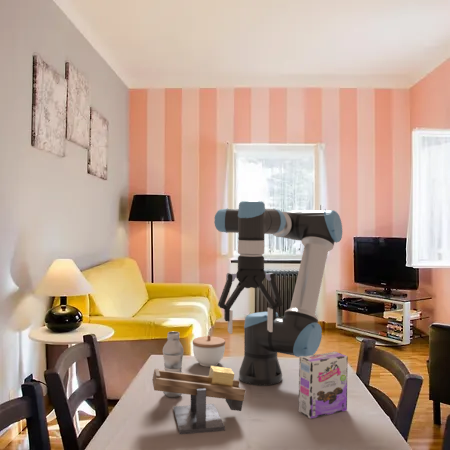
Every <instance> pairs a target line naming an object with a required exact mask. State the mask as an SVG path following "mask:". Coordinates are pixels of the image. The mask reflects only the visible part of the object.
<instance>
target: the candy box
mask: <svg viewBox="0 0 450 450" xmlns="http://www.w3.org/2000/svg"><path fill="white" fill-rule="evenodd" d="M348 358H349V357H348V355H347V354H343V353H340V352H338V351H331V352H325V353H319V354H317V353H316V354H314V355H310V356H301V357H299V373H298V376H299V377H298V380H299V381H298V412H299V413H301V414H302V415H304V416H305V417H307V418H309V420H311V419H315V418H318V417H323V416H327V415H328V416H329V415H333V414H337V413H342V412H346V411H347V410H348V363H349V362H348Z"/></svg>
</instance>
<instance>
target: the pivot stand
mask: <svg viewBox="0 0 450 450" xmlns="http://www.w3.org/2000/svg"><path fill="white" fill-rule="evenodd" d="M172 408H173V409H172V410H173V414H174V418H175V421H176V426H177V429H178V433H179V435H188V434H197V433H210V432H211V433H212V432H222V431H225V430H226V427H225V424H224V422H223V421H222V418H221V416H220V414H219V412H218V409H217V408H216V406H215V404H214V403H207V397H206V389H205V388H203V389H197V395H190V404H188V405H179V406H178V405H174V406H173V407H172Z"/></svg>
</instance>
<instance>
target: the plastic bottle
mask: <svg viewBox="0 0 450 450" xmlns="http://www.w3.org/2000/svg"><path fill="white" fill-rule="evenodd" d="M166 339H167V341H166V342H165V343H164V344H163V345H164V346H163V347H162V355H163V362H164V371H171V372H179V373H183V372H182V366H183V357H184V347H183V345H182V343H181V341H180V332H179V331H168V332H167V337H166ZM162 393H163V394H164V396H165V397H168V398H177V397H180V396H182V395H183V394H181V393H173V392H164V391H162Z"/></svg>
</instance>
